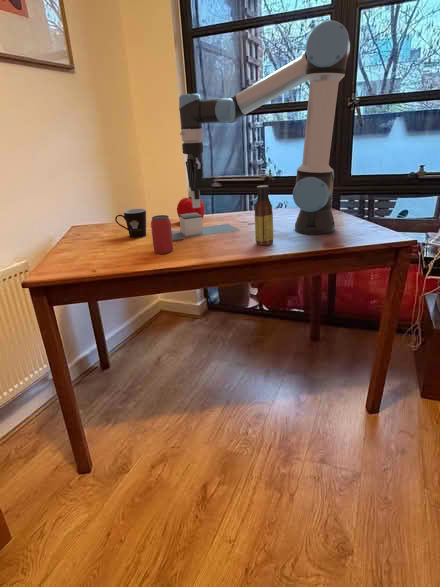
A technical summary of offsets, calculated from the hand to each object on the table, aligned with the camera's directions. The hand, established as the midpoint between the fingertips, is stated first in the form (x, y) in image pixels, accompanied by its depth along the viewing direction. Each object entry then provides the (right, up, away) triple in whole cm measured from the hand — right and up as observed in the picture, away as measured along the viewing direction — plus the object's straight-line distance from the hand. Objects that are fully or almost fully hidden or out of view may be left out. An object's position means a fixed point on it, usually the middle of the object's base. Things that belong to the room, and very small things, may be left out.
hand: (196, 207), depth 148 cm
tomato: (-3, -2, +22) cm, 22 cm away
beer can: (-10, -19, -16) cm, 27 cm away
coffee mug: (-25, -10, +5) cm, 27 cm away
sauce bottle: (+25, -16, -13) cm, 32 cm away
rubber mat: (+2, -9, +5) cm, 10 cm away
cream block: (-2, -3, 0) cm, 4 cm away
